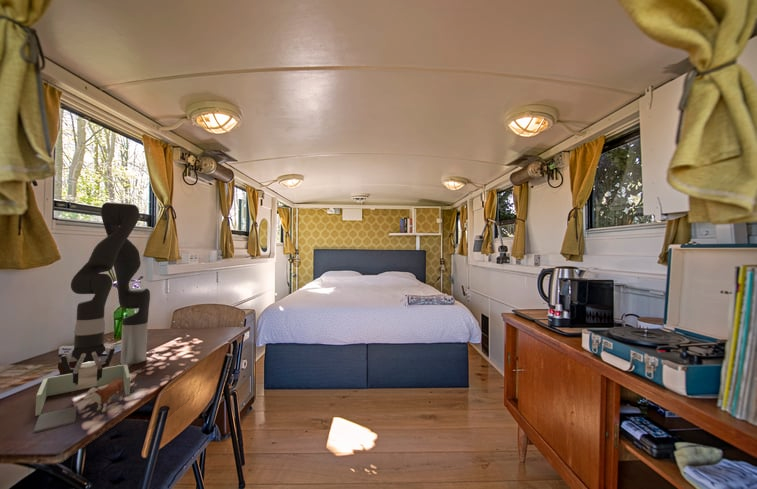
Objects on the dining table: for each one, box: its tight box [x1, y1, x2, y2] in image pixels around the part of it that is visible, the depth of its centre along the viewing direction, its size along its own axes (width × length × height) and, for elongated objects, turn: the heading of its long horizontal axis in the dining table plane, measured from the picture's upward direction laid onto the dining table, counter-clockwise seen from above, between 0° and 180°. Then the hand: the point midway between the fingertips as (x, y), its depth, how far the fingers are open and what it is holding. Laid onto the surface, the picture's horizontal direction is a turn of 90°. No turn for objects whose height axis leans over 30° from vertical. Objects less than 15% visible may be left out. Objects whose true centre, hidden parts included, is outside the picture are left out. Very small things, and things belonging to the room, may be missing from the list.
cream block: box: [78, 364, 97, 390], centre depth 106 cm, size 5×5×6 cm
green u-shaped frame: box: [34, 364, 131, 417], centre depth 106 cm, size 18×22×6 cm
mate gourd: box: [57, 356, 78, 375], centre depth 124 cm, size 8×8×15 cm
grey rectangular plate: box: [33, 405, 78, 434], centre depth 90 cm, size 12×8×1 cm, turn 42°
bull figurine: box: [83, 378, 124, 413], centre depth 98 cm, size 4×13×8 cm, turn 4°
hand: (87, 381), depth 106 cm, fingers closed on cream block, 4 cm apart
